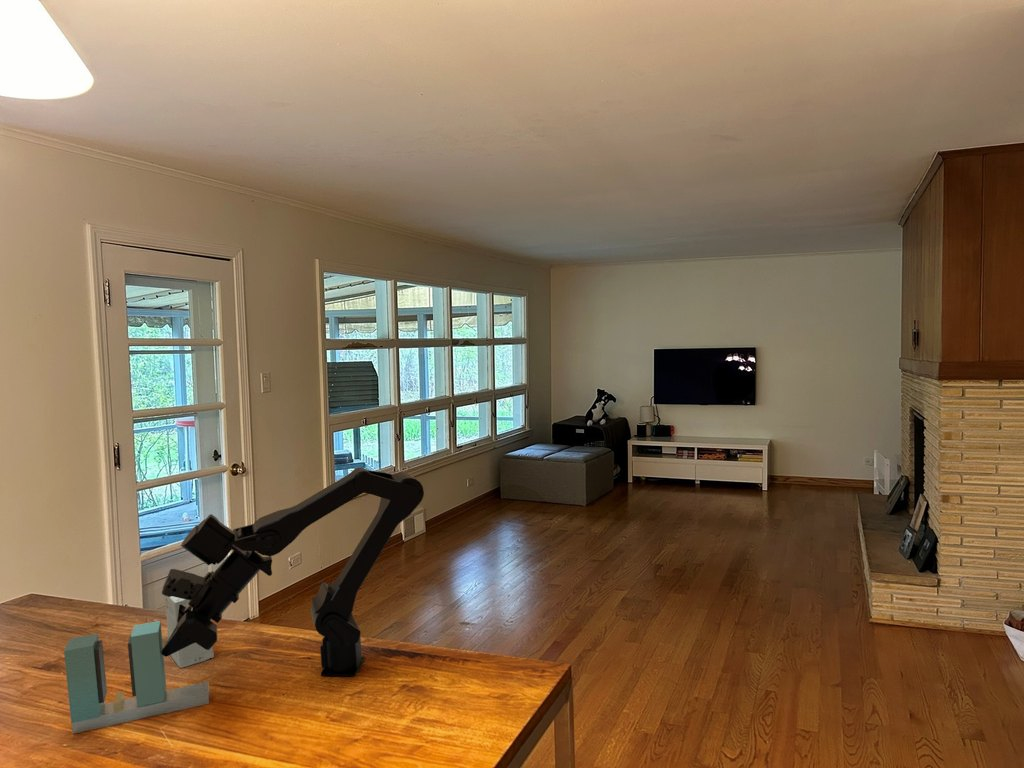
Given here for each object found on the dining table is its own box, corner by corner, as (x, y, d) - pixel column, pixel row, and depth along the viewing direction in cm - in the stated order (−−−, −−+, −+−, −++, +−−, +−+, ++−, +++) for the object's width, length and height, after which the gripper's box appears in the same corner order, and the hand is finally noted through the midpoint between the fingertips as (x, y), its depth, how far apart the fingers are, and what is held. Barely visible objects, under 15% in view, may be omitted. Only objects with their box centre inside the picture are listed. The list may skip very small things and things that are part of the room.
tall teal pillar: (166, 687, 121) (160, 620, 120) (164, 701, 116) (158, 631, 115) (136, 694, 119) (130, 626, 118) (133, 708, 115) (126, 637, 114)
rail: (209, 691, 124) (203, 614, 122) (208, 704, 119) (202, 625, 118) (78, 719, 116) (70, 638, 115) (72, 735, 112) (64, 650, 110)
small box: (214, 658, 136) (209, 593, 135) (179, 669, 132) (174, 602, 131) (202, 644, 142) (197, 582, 141) (168, 654, 138) (163, 590, 137)
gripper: (193, 537, 127) (129, 607, 124) (188, 570, 110) (114, 652, 107) (242, 572, 131) (181, 641, 128) (245, 609, 114) (175, 690, 111)
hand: (163, 654), depth 118 cm, fingers closed, pressing on tall teal pillar
